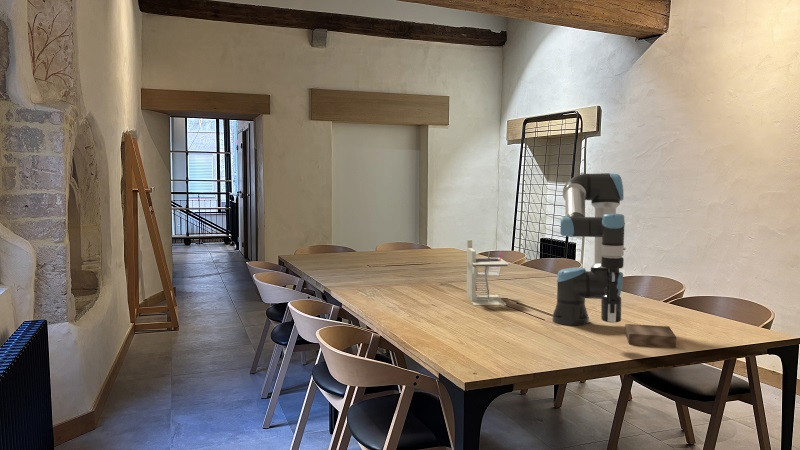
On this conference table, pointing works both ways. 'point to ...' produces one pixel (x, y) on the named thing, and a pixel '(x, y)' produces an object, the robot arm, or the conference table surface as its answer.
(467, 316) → the conference table surface
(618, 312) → the supplement bottle
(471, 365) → the conference table surface
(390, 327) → the conference table surface
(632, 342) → the walnut base
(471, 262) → the white ladder tower
